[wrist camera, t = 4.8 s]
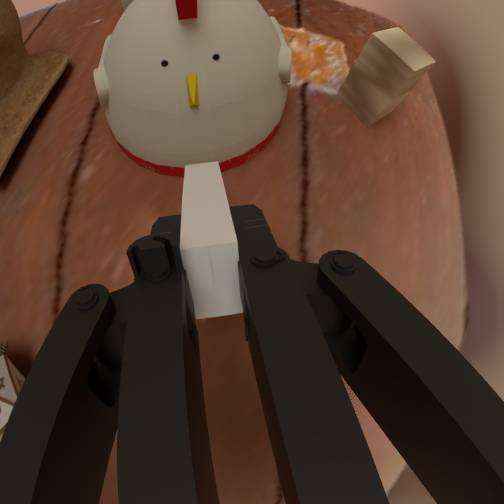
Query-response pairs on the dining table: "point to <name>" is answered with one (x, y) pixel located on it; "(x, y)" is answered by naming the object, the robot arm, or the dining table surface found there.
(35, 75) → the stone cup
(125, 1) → the sage block
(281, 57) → the kitchen timer
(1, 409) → the game die
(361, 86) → the birch block
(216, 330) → the dining table surface
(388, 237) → the dining table surface
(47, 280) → the dining table surface
